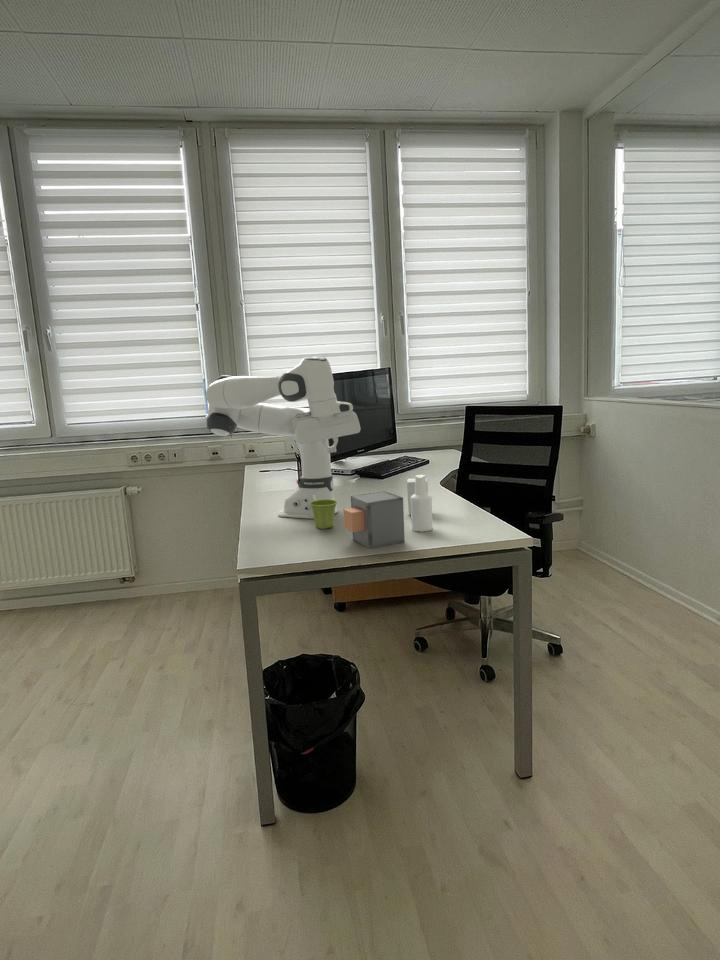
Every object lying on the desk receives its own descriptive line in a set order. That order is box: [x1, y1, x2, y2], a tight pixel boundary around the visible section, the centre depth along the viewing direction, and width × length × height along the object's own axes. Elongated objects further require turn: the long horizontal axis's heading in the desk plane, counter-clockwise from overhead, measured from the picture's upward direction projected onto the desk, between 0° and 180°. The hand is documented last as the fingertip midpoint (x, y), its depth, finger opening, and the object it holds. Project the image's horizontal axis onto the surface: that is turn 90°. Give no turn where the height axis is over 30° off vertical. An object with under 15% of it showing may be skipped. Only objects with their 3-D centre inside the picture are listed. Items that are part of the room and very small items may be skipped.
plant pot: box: [310, 499, 338, 530], centre depth 205 cm, size 9×9×9 cm
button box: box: [350, 491, 406, 549], centre depth 184 cm, size 12×12×14 cm
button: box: [343, 507, 365, 533], centre depth 181 cm, size 5×6×6 cm
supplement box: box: [406, 477, 429, 516], centre depth 217 cm, size 7×7×13 cm
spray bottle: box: [410, 474, 433, 533], centre depth 195 cm, size 7×7×18 cm
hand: (331, 452), depth 186 cm, fingers closed
